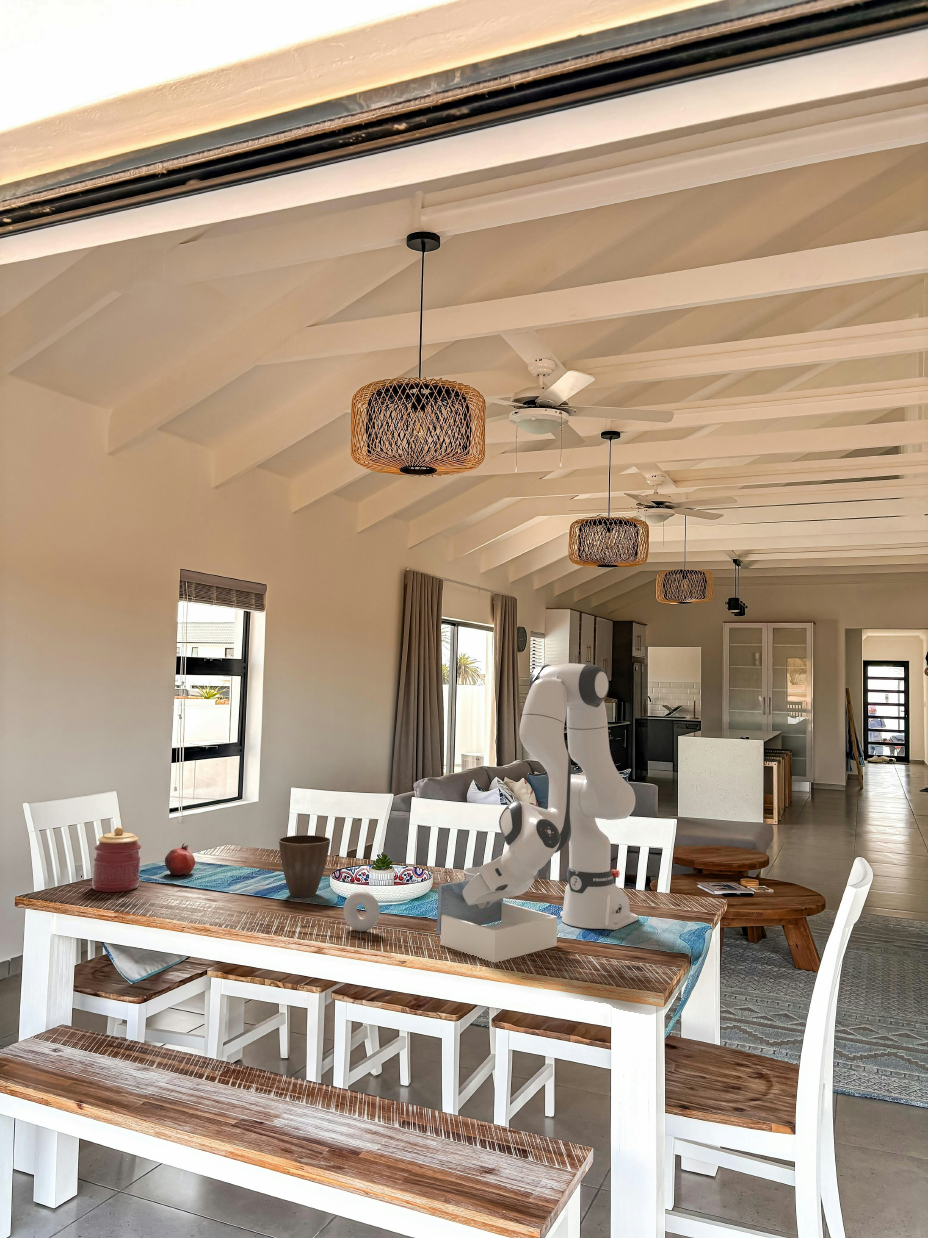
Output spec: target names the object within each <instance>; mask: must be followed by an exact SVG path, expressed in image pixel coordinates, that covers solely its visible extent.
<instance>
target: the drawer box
mask: <svg viewBox="0 0 928 1238" xmlns="http://www.w3.org/2000/svg"><path fill="white" fill-rule="evenodd" d="M557 940H558V916H556V915H554V914H553V915H552V914H550V913H545V912H541V911H538V910H535V909H531V908H529V907H528V908H527V907H524V906H519V905H516V904H513V903H509V902H505V901H503V902H502V912H501V921H499V922H498V923H497V922H495V923H491V924H489V925H488V924H486V925H477V924H473V923H470V922H467V921H464V920H460V919H457V918H454V917H450V916H447V915H441V935H440V946H443V947H446V948H449V949H452V950H456V951H457V952H460V951H461V952H460V953H463V952H464V954H466V953H467V955H469V954H470V956H472V955H474V956H473V957H475V956H477V957H476V958H478V957H479V958H478V959H481V958H482V959H481V960H484V959H485V960H484V961H487V960H488V961H487V962H490V961H491V963H493V962H494V963H493V964H496V963H499V961H500V962H502V961H506V960H510V958H511V959H513V958H517V957H522V956H526V955H528V954H533V953H535V952H539V951H543V950H546V949H550V948H551V949H552V948H555V947H557V945H558V941H557Z"/></svg>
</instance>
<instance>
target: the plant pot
mask: <svg viewBox="0 0 928 1238" xmlns="http://www.w3.org/2000/svg"><path fill="white" fill-rule="evenodd" d="M330 844H331V838H330V837H327V836H321V835H311V834H310V835H309V834H308V835H307V834H304V835H303V834H301V835H299V834H298V835H289V836H288V835H287V836H284V837H281V838H279V840H278V845H279V854H280V859H281V862H280V863H281V866H282V867H281V868H282V871H283V875H284V879H285V883H286V886H287V889H288V892H289V895H290V896H291V897H294V898H310V897H311V898H312V897H314V896H315V895H317V891H318V890H319V886H320V884H321V881H322V879H323V875H324V872H325V868H326V866H327V865H326V863H327V861H328V855H329V850H330Z"/></svg>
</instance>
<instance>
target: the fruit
mask: <svg viewBox="0 0 928 1238" xmlns="http://www.w3.org/2000/svg"><path fill="white" fill-rule="evenodd" d="M188 848H189V845H188V844H187V845H185V843H183V844H182V845H181V847H178V848H174V849H171V850H170V851H168V853H167V855H165V858H164V866H165V868H166V869H167V871H169V876H171V877H172V876H188V875H190V874H191V873H192V872H193V870H194V868H195V866H196V858H195V855H194V854H193V852H191V850H189V849H188Z"/></svg>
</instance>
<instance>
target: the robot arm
mask: <svg viewBox="0 0 928 1238" xmlns="http://www.w3.org/2000/svg"><path fill="white" fill-rule="evenodd" d="M528 688H529V689H528V690H529V692H528V694H527V696H526V700H525V703H524V706H523V709H522V713H521V717H520V724H519V740H520V742H521V745H522V747H524V749H525V751H526V752H527V753H528V754H530V756H532V757H533V758H534V759H535V760H536V761H538V762H539V763H540V764H541V766H542V767H543V768H544V770H545V771H546V773H547V776H548V797H547V799H548V801H547V802H548V804H547V808H543V807H540V806H536V805H534V804H531V803H528V802H524V801H519V800H514V801H512V802H510V803H508V805H506V807H504V809H503V811H502V812H501V813H500V816H499V819H498V826H499V829H500V832H501V835H502V837H503V840H504V842H505V844H506V845H507V846H508V849H507V850H505V852H504V853H503V854H502V855H499V857H497V858H496V859H494V860H491V861H489V862H486V863H484V864H482V865H481V866H479V867H480V869H479V871H480V873H478V874H477V875H475V876H474V877H473V878H472V879H471V881H470V882H469V883H468V884H467V885H466V887H465V888H464V890H463V892H462V894H463V897H464V899H465V901H466V902H467V904H468V905H474V904H477V905H478V907H479V908H480V909H481V908H486V907H489V906H490V905H491V904H492V903H494V902H496V901H497V900H499V899H503V900H504V899H507V898H513V897H517V896H518V897H519V896H522V895H523V894H524V893H526V892H527V891H528V890H529V889H530V888H531V887H532V885H533V884H534V882H535V879H536V878H535V876H536V874H538V872H539V870H541V869H542V868H544V867H545V865H546V864H547V863H548V862H549V861H550V860H551V859H552V858H553V856H554V854H557V853H559V852H560V851H561V850H563V849H564V848H566V846H568V853H569V855H568V856H569V857H568V858H569V859H568V863H569V865H568V867H567V871H566V881H567V882H568V883H567V884H566V886H565V889H564V890H565V891H564V897H563V907H562V910H561V911H560V914H559V916H560V917H561V921H562V923H564V924H566V925H569V926H573V927H578V928H582V929H601V930H603V929H605V930H618V929H621V928H623V927H625V926H627V925H630V924H631V923H634V922H635V921H638V920H639V916H638V915H637V914H636V913H634V912H630V900H629V897H628V896H627V894H626V893H625V892H623V890H622V889H620V888H619V887H618V885H616V883H615V880H614V878H616V879H617V878H619V877H620V875H621V873H620V870H619V869H611V846H612V845H611V841H610V839H609V836H607V835H606V834H605V833H604V832H603V831H602V830H601V829H600V827H599V826H598V824H597V821H596V819H601V820H607V821H613V820H615V821H616V820H623V819H627V818H628V817H629V816H630V815H631V814H632V812H633V811H634V810H635V807H636V794H635V792H634V791H635V790H634V789H633V787H632V785H630V783H629V782H627V781H626V780H625V778H623V777H622V775H620V772H619V770H618V769H617V768H616V765H615V763H614V761H613V757H612V755H611V749H610V738H609V729H608V727H609V726H608V725H609V724H608V716H607V709H606V703H605V700H606V697H607V696H608V693H609V689H610V682H609V676H608V674H607V673H606V671H605V670H604V668H603V667H602V666H599V665H596V664H592V663H588V664H583V663H574V662H573V663H570V662H568V663H564V664H563V663H559V664H552V665H551V664H545V665H540V666H538V667H536V668H534V670H533V671H532V673H531V674H530V677H529V680H528ZM565 724H566V733H567V734H566V735H567V746H566V742H565ZM572 760H573V762H574V763H576V764H577V765H578V766H579V767H580V768H581V770H582V772H583V775H582V774H573V773H572Z"/></svg>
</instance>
